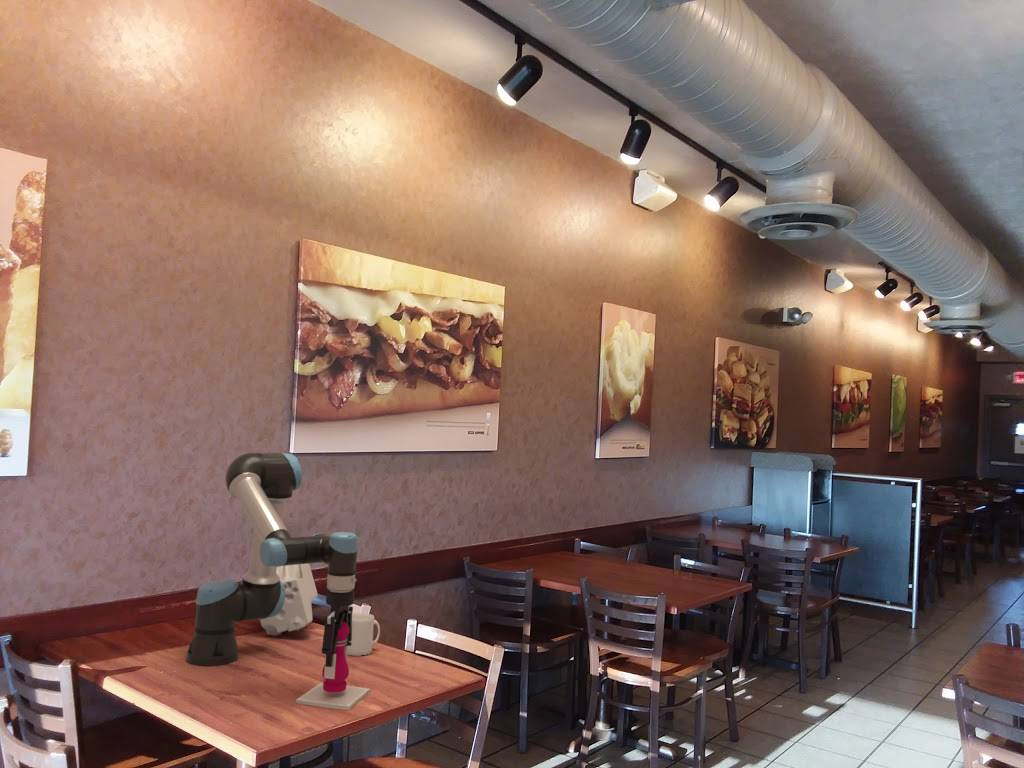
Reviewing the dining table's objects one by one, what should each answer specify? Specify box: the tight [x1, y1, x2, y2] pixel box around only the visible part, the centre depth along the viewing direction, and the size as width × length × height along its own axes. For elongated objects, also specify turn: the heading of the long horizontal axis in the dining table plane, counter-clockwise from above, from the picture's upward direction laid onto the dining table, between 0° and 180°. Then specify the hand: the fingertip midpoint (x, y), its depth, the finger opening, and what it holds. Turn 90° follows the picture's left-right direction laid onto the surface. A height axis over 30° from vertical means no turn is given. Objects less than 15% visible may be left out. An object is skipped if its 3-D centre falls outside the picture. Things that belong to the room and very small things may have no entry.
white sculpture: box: [259, 563, 319, 637], centre depth 283 cm, size 20×16×25 cm
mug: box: [347, 612, 381, 657], centre depth 264 cm, size 10×12×12 cm
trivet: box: [295, 682, 371, 711], centre depth 220 cm, size 15×15×1 cm
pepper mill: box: [321, 621, 350, 692], centre depth 220 cm, size 7×7×20 cm
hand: (335, 673), depth 220 cm, fingers closed on pepper mill, 7 cm apart
